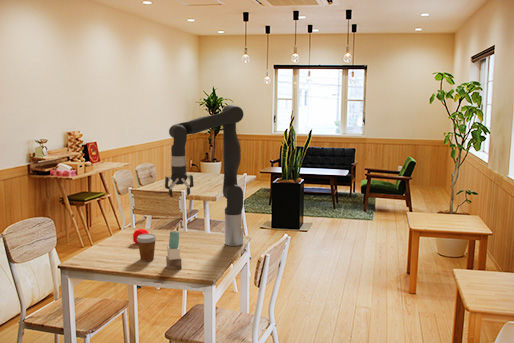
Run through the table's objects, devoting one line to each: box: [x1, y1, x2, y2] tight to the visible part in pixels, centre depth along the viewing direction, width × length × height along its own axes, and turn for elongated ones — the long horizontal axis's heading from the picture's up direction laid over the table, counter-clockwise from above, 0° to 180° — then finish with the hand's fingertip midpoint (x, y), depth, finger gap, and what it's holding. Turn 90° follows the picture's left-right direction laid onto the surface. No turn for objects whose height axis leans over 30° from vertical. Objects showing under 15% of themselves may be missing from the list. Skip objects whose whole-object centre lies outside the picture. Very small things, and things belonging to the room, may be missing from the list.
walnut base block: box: [165, 255, 182, 271], centre depth 241 cm, size 6×6×5 cm
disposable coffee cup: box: [137, 233, 157, 262], centre depth 252 cm, size 10×10×12 cm
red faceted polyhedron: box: [132, 228, 150, 245], centre depth 278 cm, size 8×8×8 cm
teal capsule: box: [168, 230, 180, 248], centre depth 240 cm, size 4×4×7 cm
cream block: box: [166, 245, 181, 260], centre depth 240 cm, size 5×5×5 cm
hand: (179, 196), depth 258 cm, fingers open, 8 cm apart
